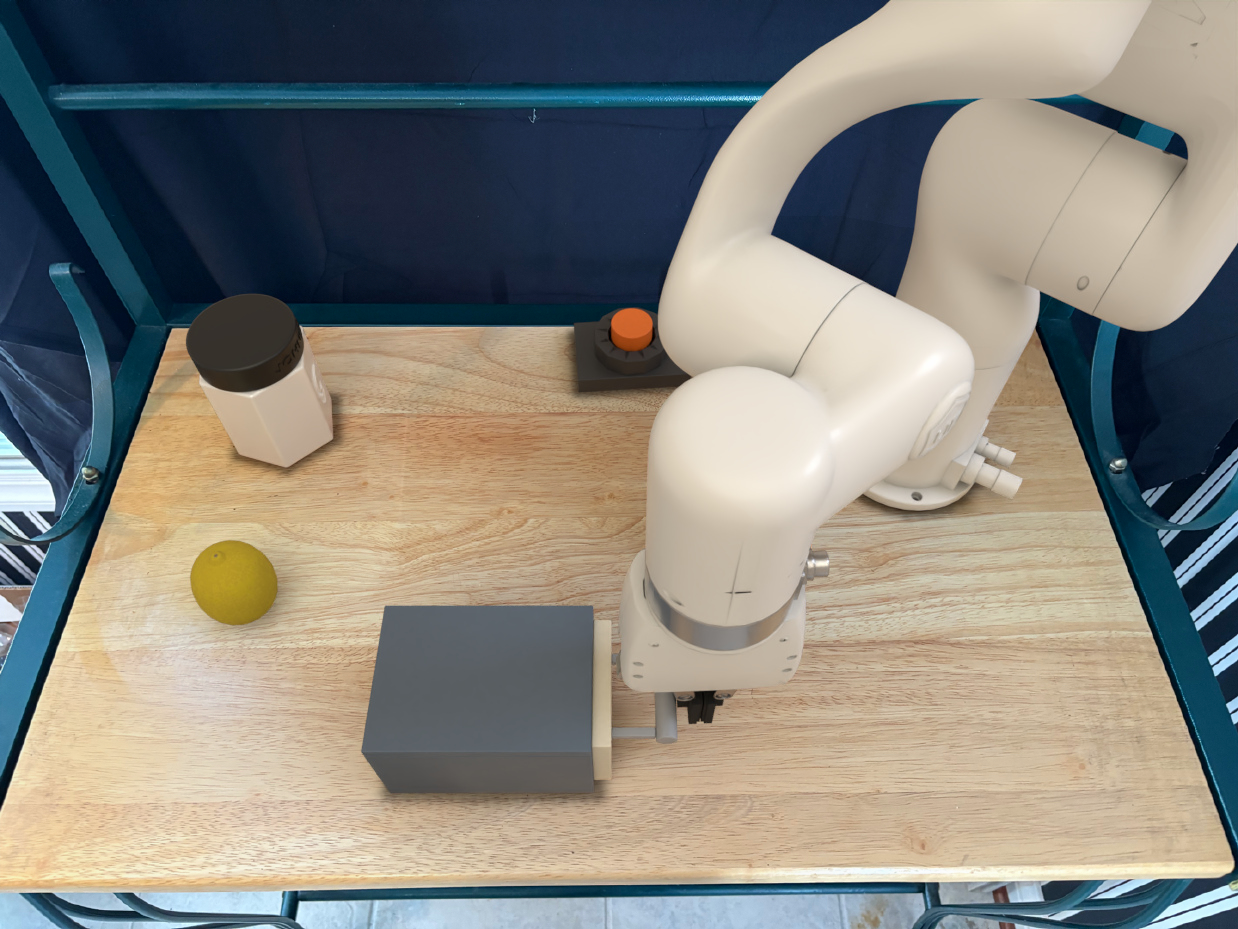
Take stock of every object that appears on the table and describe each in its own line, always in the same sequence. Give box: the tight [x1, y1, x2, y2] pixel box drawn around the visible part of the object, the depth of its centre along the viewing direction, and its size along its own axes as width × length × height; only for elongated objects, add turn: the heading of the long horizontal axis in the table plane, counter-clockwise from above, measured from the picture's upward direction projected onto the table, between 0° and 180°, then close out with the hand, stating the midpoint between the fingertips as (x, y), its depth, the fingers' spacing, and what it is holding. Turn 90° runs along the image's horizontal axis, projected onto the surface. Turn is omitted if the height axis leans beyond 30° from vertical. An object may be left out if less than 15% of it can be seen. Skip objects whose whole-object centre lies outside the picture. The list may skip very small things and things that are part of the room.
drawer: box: [592, 619, 679, 781], centre depth 60 cm, size 17×8×7 cm, turn 90°
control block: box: [573, 306, 692, 393], centre depth 82 cm, size 10×7×4 cm
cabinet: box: [360, 605, 595, 794], centre depth 60 cm, size 14×10×9 cm
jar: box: [185, 293, 334, 469], centre depth 73 cm, size 9×8×12 cm
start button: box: [611, 307, 653, 351], centre depth 80 cm, size 4×4×2 cm
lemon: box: [189, 539, 279, 626], centre depth 65 cm, size 6×6×8 cm
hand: (697, 701), depth 60 cm, fingers closed
